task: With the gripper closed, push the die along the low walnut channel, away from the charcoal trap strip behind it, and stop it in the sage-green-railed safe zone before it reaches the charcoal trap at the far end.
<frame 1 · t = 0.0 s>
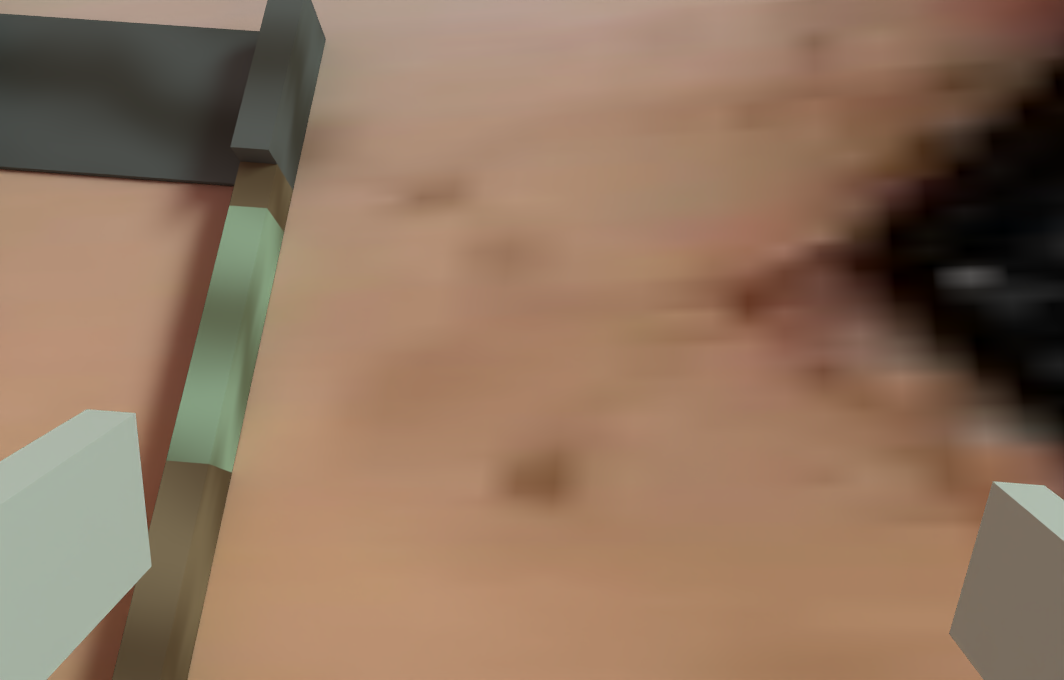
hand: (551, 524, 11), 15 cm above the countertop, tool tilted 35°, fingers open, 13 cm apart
trap channel: (16, 427, 27), on the countertop
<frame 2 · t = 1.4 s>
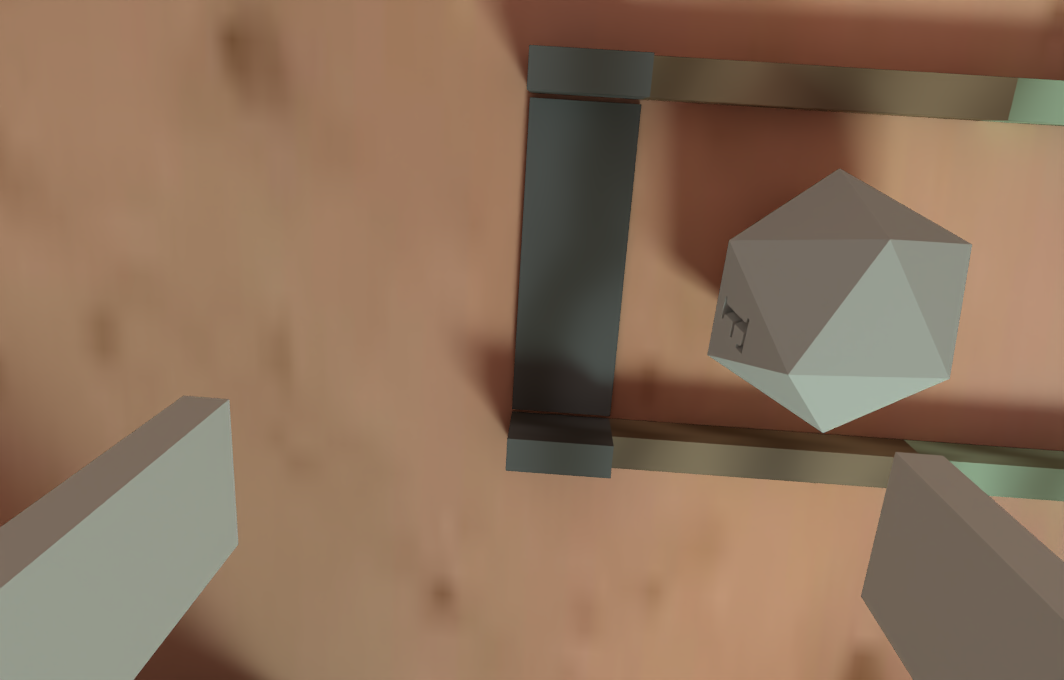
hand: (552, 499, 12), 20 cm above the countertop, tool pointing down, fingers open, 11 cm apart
die: (796, 280, 31), on the countertop
trap channel: (962, 292, 31), on the countertop
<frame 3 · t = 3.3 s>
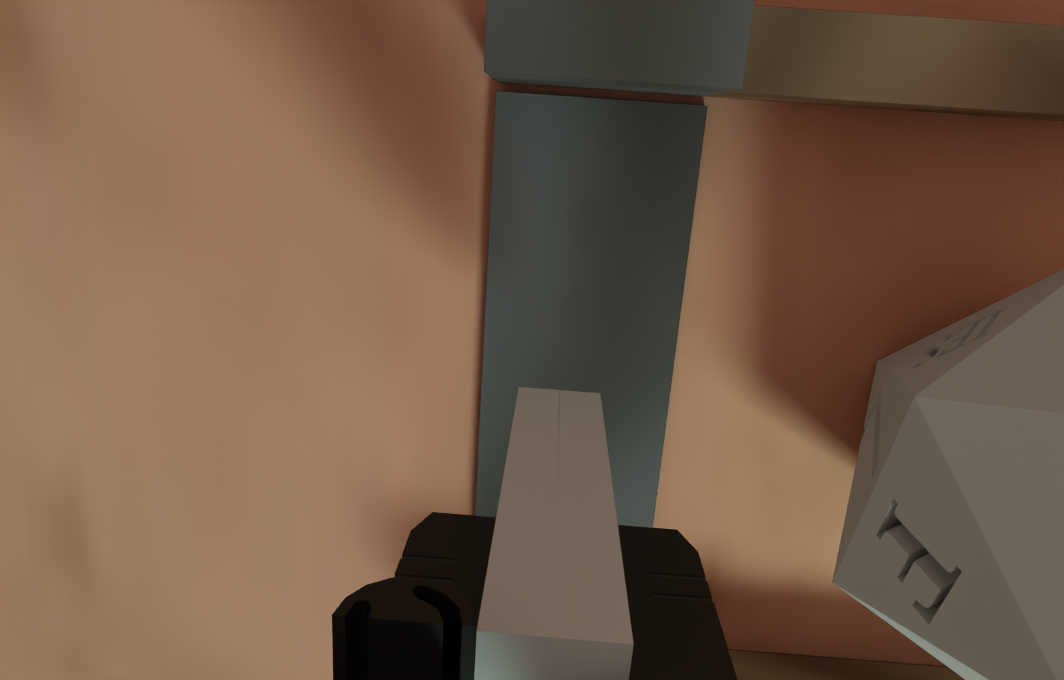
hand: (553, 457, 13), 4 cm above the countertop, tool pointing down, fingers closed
die: (973, 420, 17), on the countertop
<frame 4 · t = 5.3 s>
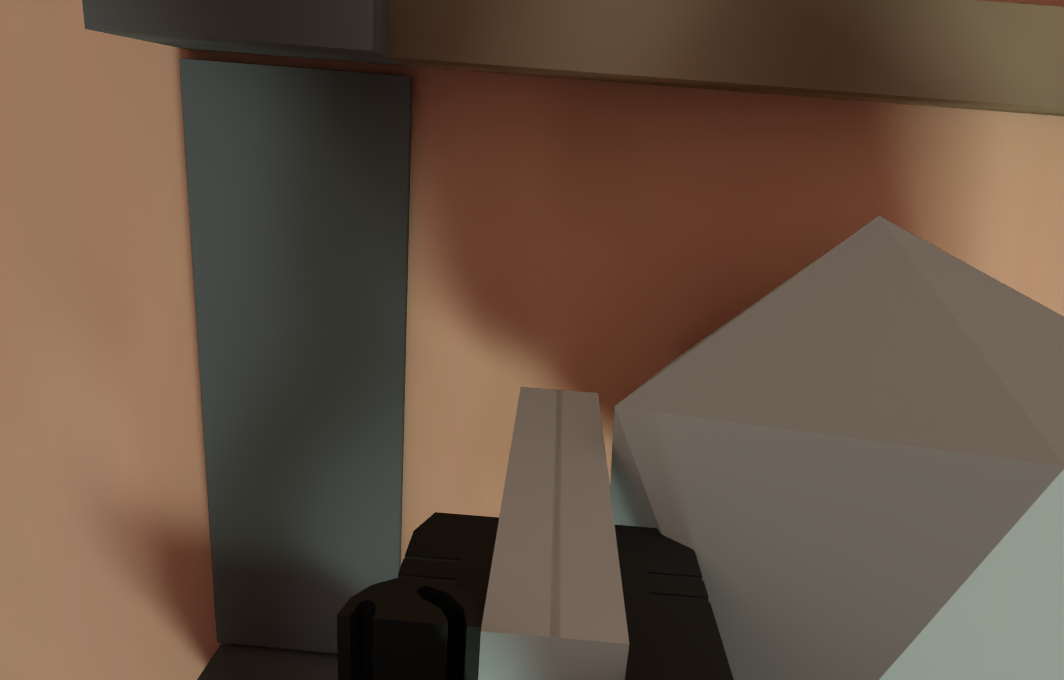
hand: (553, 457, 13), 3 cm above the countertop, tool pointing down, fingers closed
die: (790, 421, 16), on the countertop, touching gripper
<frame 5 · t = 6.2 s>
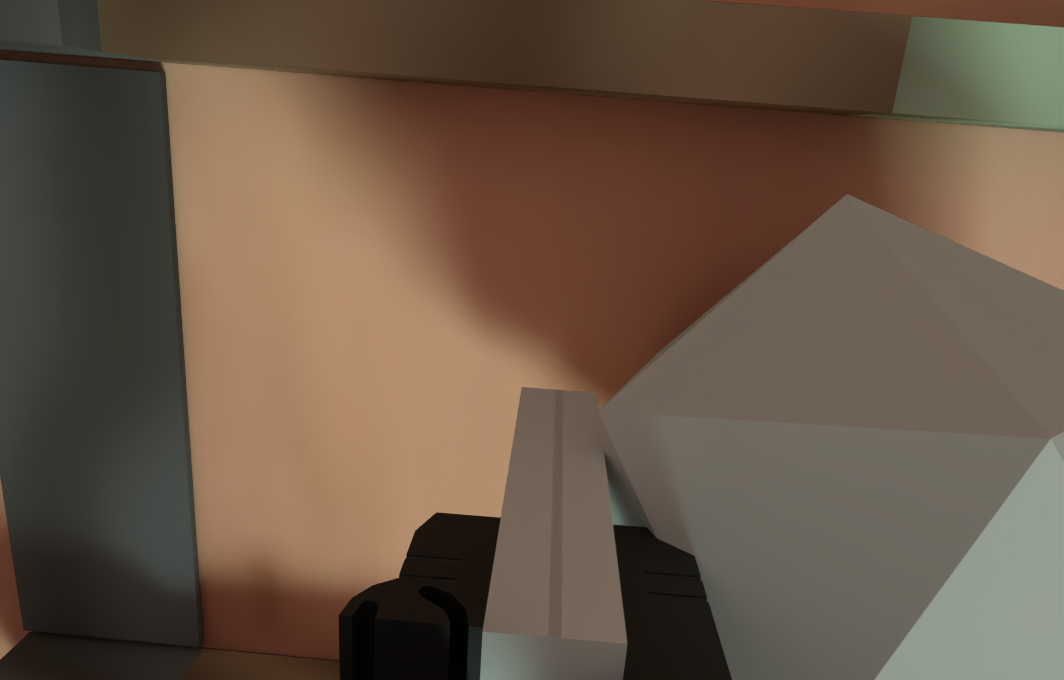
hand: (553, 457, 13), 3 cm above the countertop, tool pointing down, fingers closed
die: (778, 403, 16), on the countertop, touching gripper
trap channel: (829, 448, 16), on the countertop
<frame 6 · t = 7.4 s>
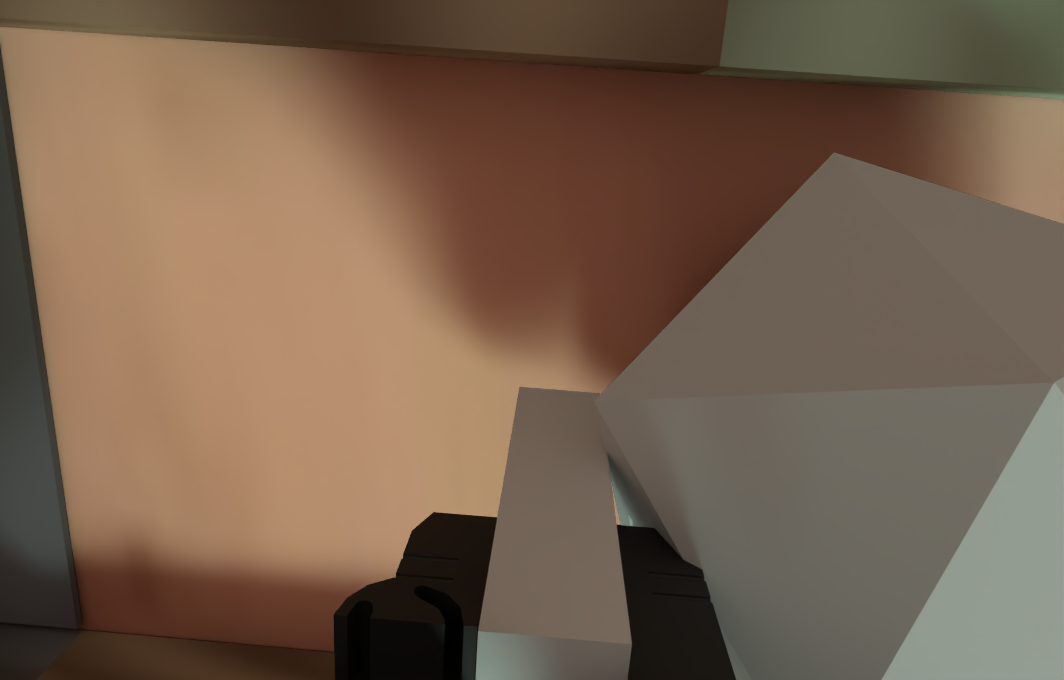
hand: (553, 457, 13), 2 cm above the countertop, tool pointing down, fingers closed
die: (797, 377, 15), on the countertop, touching gripper
trap channel: (700, 420, 15), on the countertop
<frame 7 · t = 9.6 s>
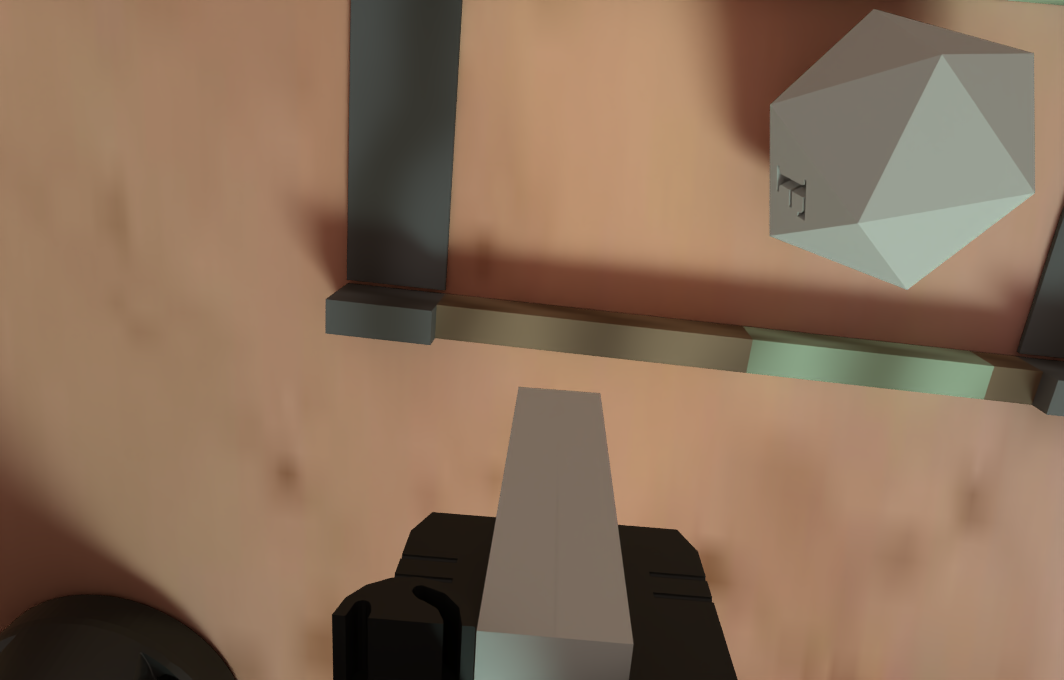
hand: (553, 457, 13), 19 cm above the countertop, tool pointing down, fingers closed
die: (849, 146, 30), on the countertop
trap channel: (797, 169, 30), on the countertop
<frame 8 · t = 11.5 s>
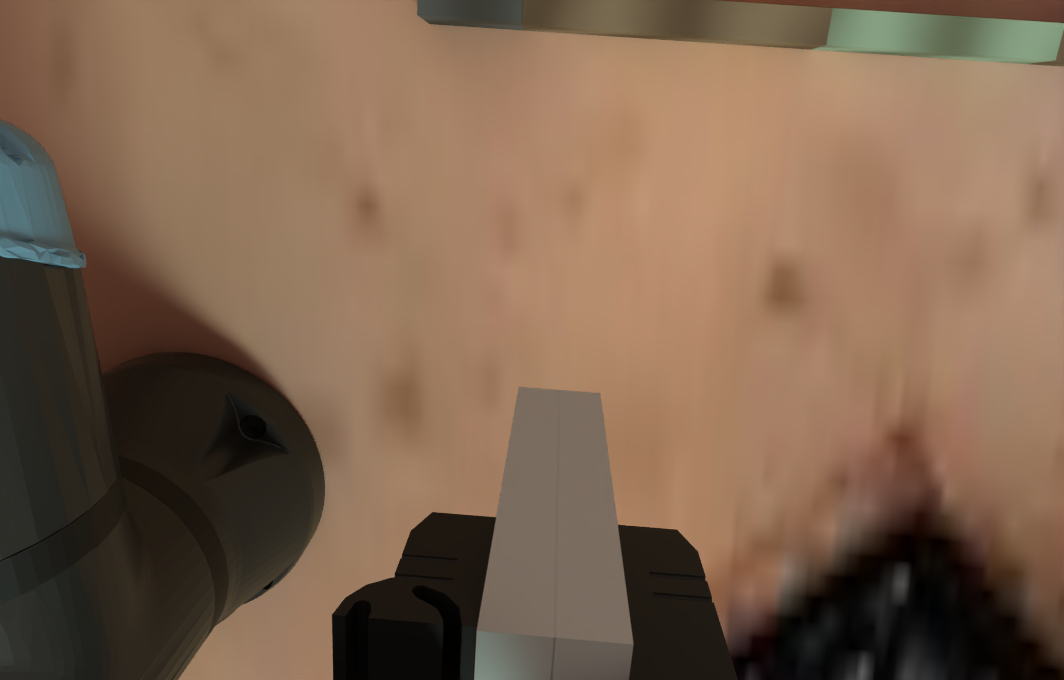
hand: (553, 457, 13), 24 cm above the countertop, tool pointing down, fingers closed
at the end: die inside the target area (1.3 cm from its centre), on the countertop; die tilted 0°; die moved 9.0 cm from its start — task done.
